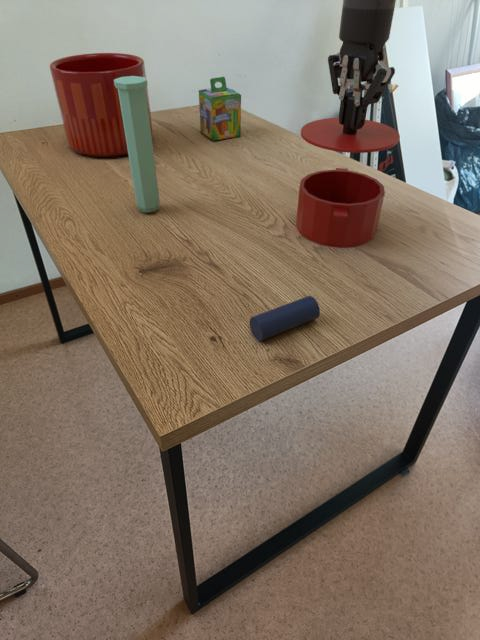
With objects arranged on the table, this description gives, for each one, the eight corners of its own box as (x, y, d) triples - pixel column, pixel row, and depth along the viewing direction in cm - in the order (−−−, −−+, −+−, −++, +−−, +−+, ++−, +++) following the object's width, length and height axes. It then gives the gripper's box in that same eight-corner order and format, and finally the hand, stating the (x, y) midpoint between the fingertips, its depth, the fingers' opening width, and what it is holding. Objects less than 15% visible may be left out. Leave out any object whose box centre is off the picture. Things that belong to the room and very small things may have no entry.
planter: (135, 125, 138) (123, 49, 124) (168, 148, 123) (159, 65, 110) (59, 139, 128) (38, 58, 115) (84, 166, 113) (64, 77, 100)
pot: (373, 206, 97) (381, 167, 92) (378, 258, 81) (388, 216, 76) (300, 200, 99) (304, 162, 94) (291, 250, 83) (295, 208, 78)
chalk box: (213, 142, 127) (211, 84, 117) (199, 132, 133) (196, 76, 123) (242, 136, 130) (242, 80, 120) (227, 127, 136) (226, 72, 126)
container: (168, 210, 95) (153, 80, 79) (144, 219, 92) (124, 86, 76) (153, 201, 99) (135, 74, 82) (129, 209, 96) (106, 79, 79)
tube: (304, 309, 70) (306, 291, 68) (318, 323, 68) (321, 304, 66) (249, 330, 67) (249, 312, 64) (261, 345, 64) (263, 327, 62)
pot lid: (394, 126, 84) (402, 87, 80) (402, 159, 71) (412, 115, 67) (303, 121, 86) (307, 83, 82) (296, 153, 74) (299, 110, 69)
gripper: (423, 6, 63) (395, 134, 74) (356, -2, 72) (341, 112, 83) (383, 10, 60) (360, 142, 71) (319, 0, 69) (308, 118, 81)
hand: (350, 125), depth 77 cm, fingers closed on pot lid, 2 cm apart
